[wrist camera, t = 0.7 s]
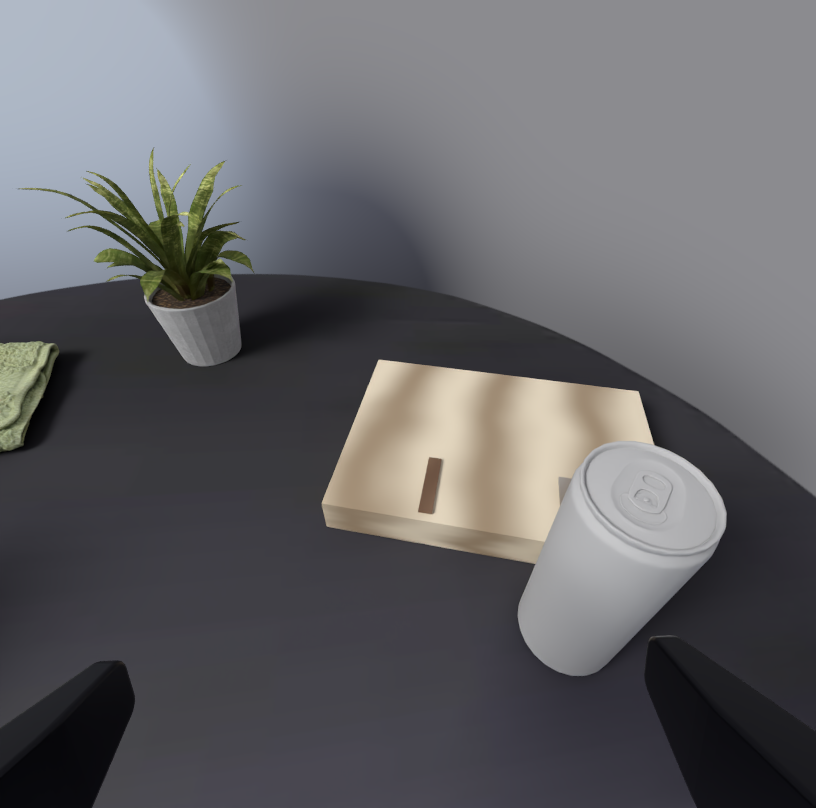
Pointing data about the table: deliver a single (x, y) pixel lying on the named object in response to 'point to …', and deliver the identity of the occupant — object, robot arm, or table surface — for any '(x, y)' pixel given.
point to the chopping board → (471, 456)
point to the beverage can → (617, 553)
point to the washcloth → (22, 387)
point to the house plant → (179, 268)
